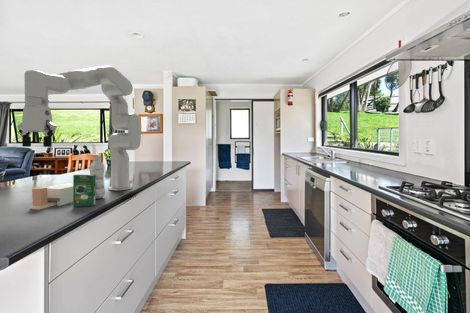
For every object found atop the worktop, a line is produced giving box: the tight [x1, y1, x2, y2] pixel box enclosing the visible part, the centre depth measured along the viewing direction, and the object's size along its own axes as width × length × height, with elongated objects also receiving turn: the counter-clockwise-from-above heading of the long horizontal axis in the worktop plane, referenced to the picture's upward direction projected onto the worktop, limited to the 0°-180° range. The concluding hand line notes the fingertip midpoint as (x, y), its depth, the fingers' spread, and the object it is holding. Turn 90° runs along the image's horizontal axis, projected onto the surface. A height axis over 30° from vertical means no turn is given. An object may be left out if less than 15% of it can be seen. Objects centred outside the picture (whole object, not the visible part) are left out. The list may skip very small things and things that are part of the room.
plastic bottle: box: [88, 155, 106, 200], centre depth 128 cm, size 6×7×20 cm
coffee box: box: [72, 174, 96, 208], centre depth 113 cm, size 8×3×13 cm, turn 102°
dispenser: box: [44, 182, 73, 207], centre depth 121 cm, size 15×10×7 cm
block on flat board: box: [29, 186, 57, 210], centre depth 117 cm, size 19×4×8 cm, turn 169°
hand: (37, 146), depth 108 cm, fingers open, 9 cm apart
